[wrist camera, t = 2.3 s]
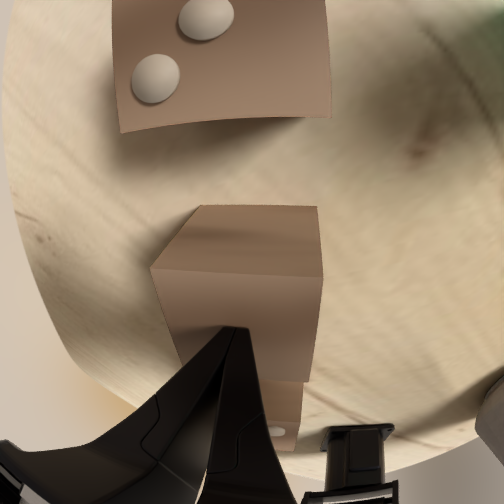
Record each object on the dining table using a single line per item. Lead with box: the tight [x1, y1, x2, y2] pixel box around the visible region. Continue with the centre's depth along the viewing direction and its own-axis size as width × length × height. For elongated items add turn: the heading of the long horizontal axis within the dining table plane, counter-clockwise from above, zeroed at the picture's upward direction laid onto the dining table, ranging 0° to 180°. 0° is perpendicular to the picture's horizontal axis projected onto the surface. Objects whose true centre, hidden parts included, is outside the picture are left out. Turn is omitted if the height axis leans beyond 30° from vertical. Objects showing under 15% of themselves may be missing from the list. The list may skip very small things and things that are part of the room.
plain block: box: [149, 205, 323, 382], centre depth 11 cm, size 5×5×5 cm
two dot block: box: [259, 379, 303, 451], centre depth 16 cm, size 5×5×5 cm
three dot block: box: [112, 0, 332, 134], centre depth 6 cm, size 5×5×5 cm
